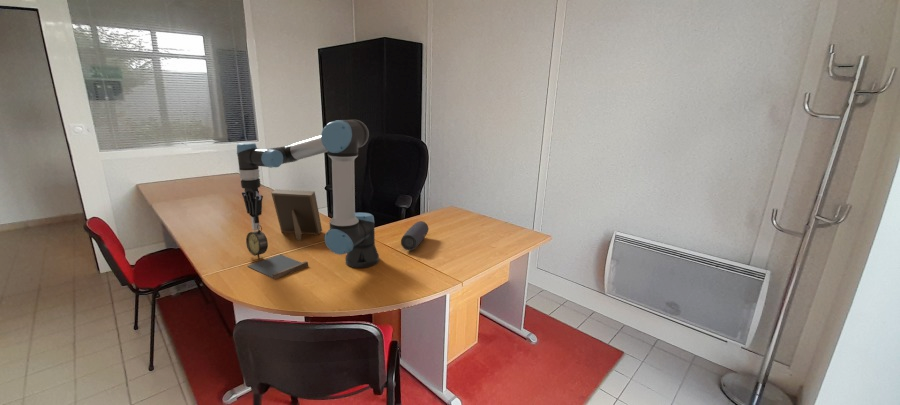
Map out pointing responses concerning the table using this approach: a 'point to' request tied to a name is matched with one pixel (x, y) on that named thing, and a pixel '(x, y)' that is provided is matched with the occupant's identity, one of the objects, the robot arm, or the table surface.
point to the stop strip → (290, 270)
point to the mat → (273, 265)
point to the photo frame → (297, 212)
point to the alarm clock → (257, 242)
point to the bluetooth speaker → (414, 235)
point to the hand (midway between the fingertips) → (256, 229)
